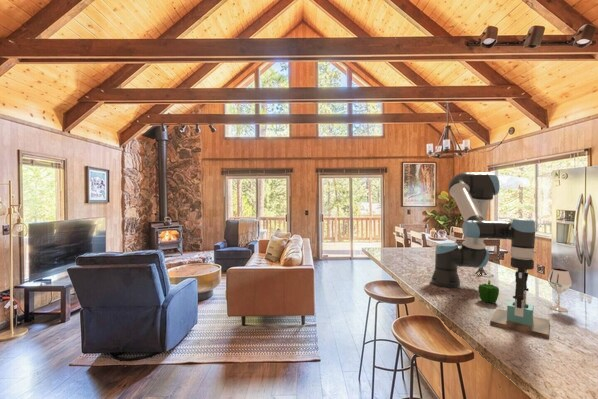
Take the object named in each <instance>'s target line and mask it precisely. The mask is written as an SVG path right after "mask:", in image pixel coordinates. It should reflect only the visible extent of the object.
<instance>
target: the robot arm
mask: <svg viewBox="0 0 598 399" xmlns="http://www.w3.org/2000/svg"><path fill="white" fill-rule="evenodd" d="M447 189H448V192H449V195H450V196H451V198H453V199H454V202H455V203H456V206H457V207H458V210H459V212H460V214H461V217H462V218H463V223H462V228H461V229H462V233H463V234H462V235H463V236H464V237H465V240H463V241H462V244H461V245H459V244H458V243H456V242H442V243H438V244H437V245H436V246H435V252H434V256H435V257H434V271H433V273H432V276H431V279H430V282H431V283H432V284H433V285H435V286H439V287H443V288H451V289H453V288H459V287H461V280H460V277H459V274H458V267H461V268H462V267H463V268H475V269H477V268H478V269H479V268H482V267H483V268H485V267H486V265H488V262H489V260H490V251H489V249H488V248H487V245H486V244H485V243H484V241H485V240H484V239H491V240H494V239H495V240H510V241H511V244H510V245H511V246H510V256H511V257H510V266H511V267H512V268H515V269H517V270H516V271H515V272H514V273H515V274H514V275H515V294H514V295H513V296H512V299H514V301H515V315H516V316H520V317H523V312H524V298H523V297H524V293H525V295H526V296H527V292H529V290H530V289H529V288H528V284H527V283H528V282H527V281H528V277H529V272H527V271H530V270H534V268H535V260H534V258H535V254H537V251H536V250H535V244H536V221H535V220H533V219H528V218H513V219H512V221H510V220H509V221H506V220H505V221H494V220H493V221H489V220H488V212H489V206H490V205H489V204H490V202H491V201H492V200H493V199H494V196H496V195H498V194H499V192H500V189H501V188H500V180H499V178H498V176H497V175H496V174H495V173H494V172H493V173H492V172H485V171H484V172H479V171H478V172H461V173H458V174H456V175H454V176H453V177H452V178H451V180H450V181H449V183H448V187H447ZM519 295H520V296H519ZM525 304H527V299H526V300H525Z"/></svg>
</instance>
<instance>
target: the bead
mask: <svg viewBox="0 0 598 399" xmlns="http://www.w3.org/2000/svg"><path fill="white" fill-rule="evenodd" d="M506 306H507V307H506V311H507V321H511V322H516V323H520V324H524V325H529V326H532V323H533V316H534V306H535V305H534V304H530V303H526V304H525V308H524V312H523V317H520V316H516V315H515V300H509V301H508V303H507V305H506Z"/></svg>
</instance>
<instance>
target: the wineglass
mask: <svg viewBox="0 0 598 399" xmlns="http://www.w3.org/2000/svg"><path fill="white" fill-rule="evenodd" d="M547 282H548V284H549V286H550V287H551V288H552V289H554V291H555V292H556V293H557V306H556V305H552V306H549V309H551V310H554V311H557V312H564V313H565V312H569V309H567V308H565V307H561V294H562V293H564V292H565V291H567V290H569V289H570V288H571V286H572V284H573V283H572V279H571V275H570V272H569V270H567V269H564V268H563V269H562V268H555V267H552V268H551V271H550V273H549V275H548V280H547Z"/></svg>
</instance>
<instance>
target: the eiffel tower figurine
mask: <svg viewBox="0 0 598 399" xmlns="http://www.w3.org/2000/svg"><path fill="white" fill-rule="evenodd" d="M479 273H480V274H481V275H480V274H479ZM476 274H477V275H476ZM478 274H479V275H480V276H479V275H478ZM482 274H484V275H488V274H487V273H486V271H485V269H484V267H482V268H478V269H477V271H476V272H475V273H474V274H472V276H475V277H476V276H479V277H483V278H495V276H494V274H490V275H488V276H483V275H482ZM468 276H471V273H470V274H468Z"/></svg>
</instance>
